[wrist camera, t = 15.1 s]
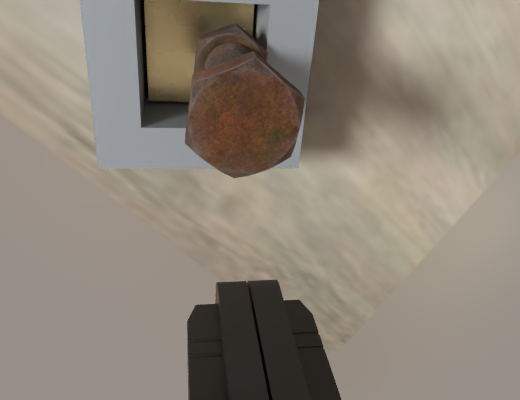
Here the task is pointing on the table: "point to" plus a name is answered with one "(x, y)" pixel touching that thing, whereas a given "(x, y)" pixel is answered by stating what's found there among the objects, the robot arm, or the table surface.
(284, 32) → the socket block
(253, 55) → the bolt
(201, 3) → the beige square tile
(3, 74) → the table surface
